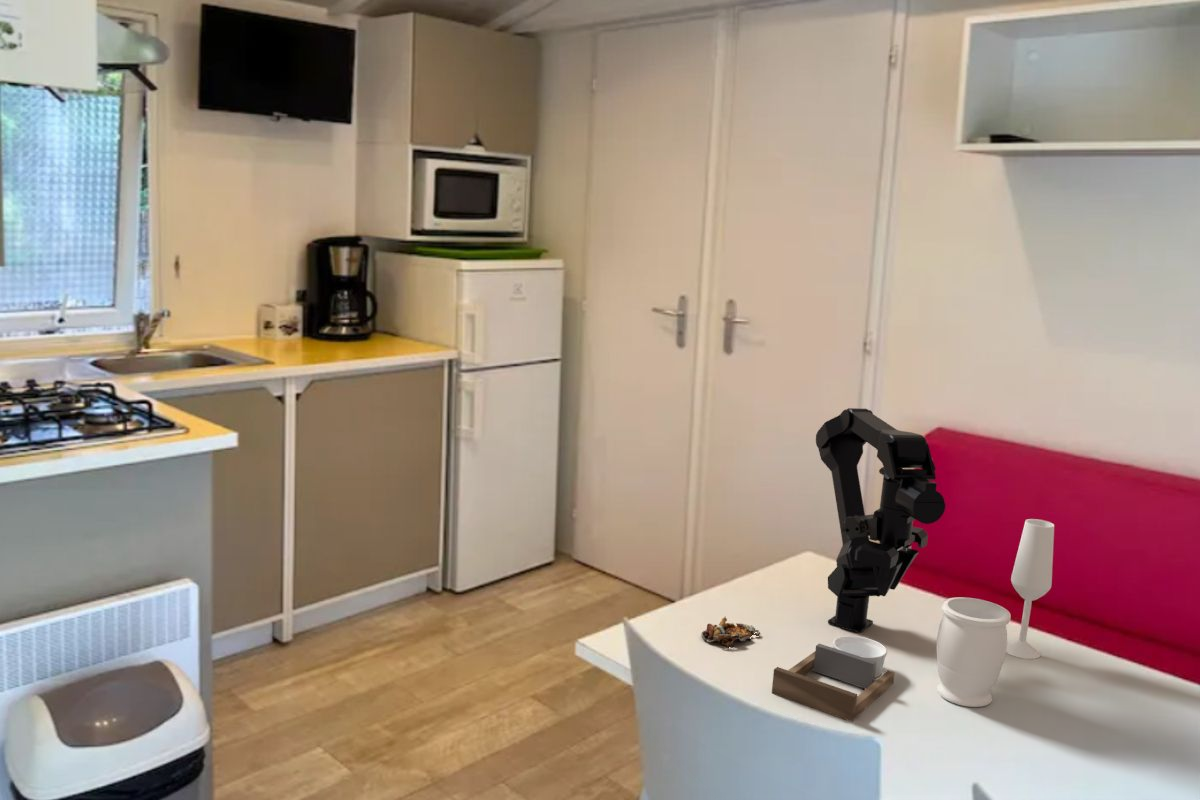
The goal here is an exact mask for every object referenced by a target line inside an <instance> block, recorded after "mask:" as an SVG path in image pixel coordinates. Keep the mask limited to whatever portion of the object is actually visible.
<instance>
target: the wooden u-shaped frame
mask: <svg viewBox="0 0 1200 800" xmlns="http://www.w3.org/2000/svg"><path fill="white" fill-rule="evenodd" d="M814 660H815V651H813V652H812V653H810V654H809V655H807V656H806V657H805V658H804V659H802V660H800V661H799V662H798V663H796V664H795V665H794V666H792V667H791V668H789V669H786V668H785V669H784V668H782V667H779V666H777V667H775V668H774V669H773V673H772V674H773V675H772V684H771V685H772V687H771V694H774V695H777V696H779V697H782V698H785V699H788V700H790V701H793V702H796V703H798V704H802V705H804V706H806V707H807V706H808V707H810V708H811V709H812V708H813V709H816V710H818V711H822V712H823V713H824V712H825V713H827V714H830V715H831V716H832V715H833V716H835V717H838V718H840V719H844V720H846V721H849V722H852V721H854V719H856V718H857V717H858V716H860V714H861V713H862V712H864V711H865V710H866V709H867V708H869V706H870V705H871V704H872V703H874V702H875V701H876V700H878V699H879V697H880V696H882V695H883V694H884V693H885V692H886V691H887V690H888V689H890V688H891V687H892V686H893V685H894V682H895V674H896V672H894V671H891V670H887V671H885V672H883V674H881V675H880V676H878V677H877V678H876V680H874V682H873V683H872V684H871V685H870V686H869V687H868V688H866V689H865V688H864V690H863V691H862V692H861V693H859V694H857V693H855V692H852V691H849V690H847V689H843V688H840V687H838V686H834V685H832V684H829V683H826V682H823V681H820V680H817V679H814V678H811V677H809V676H807V675H808V674H809V673H811V672H812V671H813V669H814Z"/></svg>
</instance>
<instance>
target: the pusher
mask: <svg viewBox="0 0 1200 800" xmlns="http://www.w3.org/2000/svg"><path fill="white" fill-rule="evenodd" d="M814 652H815V660H814V669H813V670H812V671H813V672H815V673H819V674H821V675H824V676H826V677H827V676H828V677H831V678H833V679H836V680H838V681H839V680H840V681H842V682H845V683H847V684H851V685H854V686H856V687H860V688H863V689H864V690H865V689H866V688H868V687H869V686H870V685H871V684H872V683H873V682H875V679H876V678H875V671H876V661H872V660H869V659H866V658H863V657H860V656H857V655H854V654H851V653H847V652H844V651H841V650H838V649H835V648H833V647H832V646H828V645H825V644H822V643H818V644H817V645H815V651H814Z"/></svg>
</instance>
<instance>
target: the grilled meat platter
mask: <svg viewBox="0 0 1200 800" xmlns="http://www.w3.org/2000/svg"><path fill="white" fill-rule="evenodd" d="M727 621H728V618H727V617H726V615H725V616H724V617H723V618H721V621H720V622H719V624H718V625H717V624H712V623H708V624H706V629H705V630H703V631H702V632H701V634H700V637H701V638H702V639H703V640H706V642H708V643H712V642H714V641H715V642H716V641H717V642H719V643H720V644H722V645H724V646H727V647H726V648H722V651H724V652H730V650H731V649H729V647H731V648H733V647H735V648H736V646H735V644H734V643H735V641H736V640H737V639H738V640H739V641H741V642H746V640H749V639H750V637H751V636H752V635H756V636H759V637H760V635H761V634H760V633H761V632H760V630H758V629H757V630H755V629H756V627H755V626H753V625H752V624H751V625H749V624H746V623H741V622H739V623H737V622H736V623H735V624H734V623H732V622H731V623H730V622H727ZM755 632H757V633H755ZM754 633H755V634H754ZM748 638H749V639H748Z"/></svg>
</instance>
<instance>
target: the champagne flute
mask: <svg viewBox="0 0 1200 800" xmlns="http://www.w3.org/2000/svg"><path fill="white" fill-rule="evenodd" d="M1054 540H1055V524H1054V523H1052V522H1051V521H1048V520H1044V519H1036V518H1029V519H1028V518H1027V519H1025V521H1024V524H1023V529H1022V532H1021V538H1020V541H1019V545H1018V550H1017V553H1016V557H1015V561H1014V565H1013V568H1012V569H1013V570H1012V572H1011V576H1010V577H1011V578H1010V581H1011V584H1012V587H1013V588H1014V589H1015V591H1016V593H1018V595H1019V596H1020V597H1021V598H1022V599H1023V600H1024V604H1023V609H1022V611H1023V612H1022V617H1021V622H1020V623H1021V624H1020V631H1019V637H1018V639H1017V640H1014V641H1010V642H1007V648H1006V654H1008V655H1011V656H1013V657H1015V658H1016V657H1017V658H1019V659H1026V660H1034V659H1038V658H1040V657H1041V655H1042V654H1041V652H1040V651H1039V650H1037V648H1035V647H1033V646H1032V645H1031V644H1030V643H1029V642H1027V636H1028V631H1029V622H1030V616H1031V611H1032V601H1033V602H1034V601H1036V600H1038V599H1040V598H1041V597H1044V596H1045V595H1046V594H1047V593H1049V591H1050V590H1051V588H1052V584H1053V583H1052V582H1053V581H1052V580H1053V562H1054V559H1053V558H1054V543H1055V542H1054Z"/></svg>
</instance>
